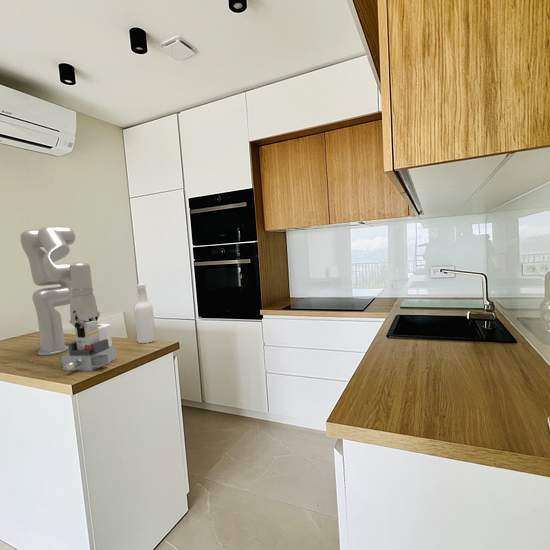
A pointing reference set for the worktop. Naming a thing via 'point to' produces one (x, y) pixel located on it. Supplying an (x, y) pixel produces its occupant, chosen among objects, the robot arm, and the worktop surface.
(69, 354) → the grey boxy piece
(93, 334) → the ink box
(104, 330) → the toilet paper
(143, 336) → the alcohol
